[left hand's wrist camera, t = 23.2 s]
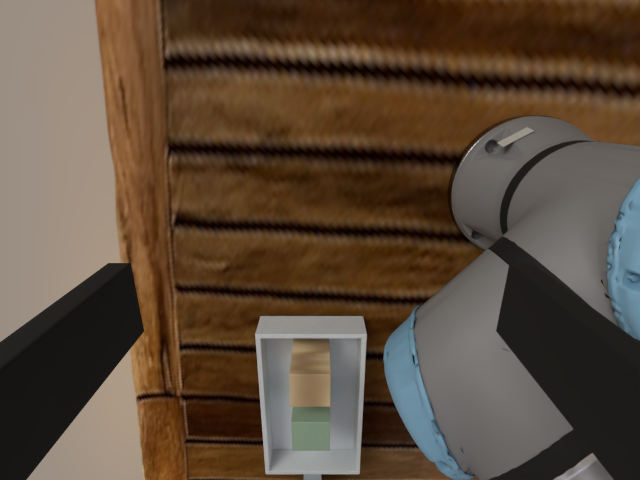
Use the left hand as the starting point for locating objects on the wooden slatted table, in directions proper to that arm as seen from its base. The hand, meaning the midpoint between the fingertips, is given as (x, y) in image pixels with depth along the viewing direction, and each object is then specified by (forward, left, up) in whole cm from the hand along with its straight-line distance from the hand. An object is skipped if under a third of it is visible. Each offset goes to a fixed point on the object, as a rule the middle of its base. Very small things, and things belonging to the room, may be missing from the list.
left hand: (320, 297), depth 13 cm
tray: (+1, +35, -29) cm, 45 cm away
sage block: (+1, +30, -28) cm, 41 cm away
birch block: (+1, +23, -28) cm, 36 cm away
